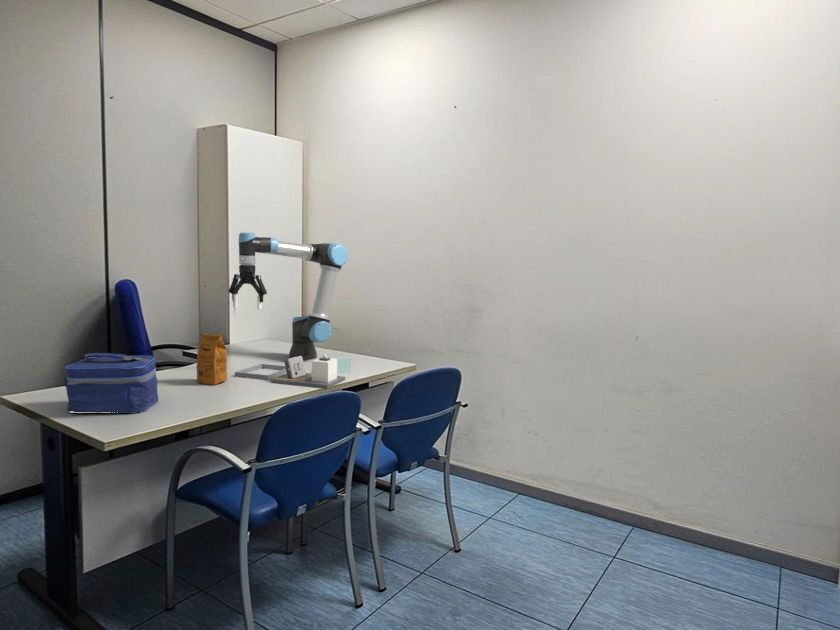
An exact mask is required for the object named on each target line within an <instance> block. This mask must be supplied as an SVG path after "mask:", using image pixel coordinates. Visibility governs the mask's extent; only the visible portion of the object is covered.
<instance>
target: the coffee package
mask: <svg viewBox="0 0 840 630" xmlns="http://www.w3.org/2000/svg"><path fill="white" fill-rule="evenodd" d="M223 337H224V336H223V334H209V333H205V332H203V333H202V335H201V338H200V342H199V345H198V349H197V357H196V383H197V382H199V383H198V384H204V385H206V384H209V385H208V386H216V385H218V384H219V383H224V382H227V381H228V377H227V376H228V372H227V370H228V368H227V367H228V357H227V355H228V349H227V348H226V345H225V342H224V341H223Z"/></svg>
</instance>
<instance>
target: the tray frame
mask: <svg viewBox="0 0 840 630" xmlns="http://www.w3.org/2000/svg"><path fill="white" fill-rule="evenodd" d="M266 368H267V369H269V370H276V369H277V371H275V372H272V373H269V374H261V373H252V372H255V371H258V370H260V369H266ZM257 369H258V370H257ZM267 369H266V370H267ZM254 370H255V371H254ZM288 370H289V368H288ZM251 371H252V372H251ZM248 372H249V373H248ZM285 373H287V372H286V367H285V365H279V364H268V363H260V364H257V365H252V366H250V367H247V368H244V369H243V368H242V369H241V370H237V371H235V372H234V376H235V377H236V376H240V377H239V378H246V377H249V378H248V379H255V378H256V379H258V380H266V381H269V380H271V379H273V378H275V377H278V376H280V375H283V374H285Z"/></svg>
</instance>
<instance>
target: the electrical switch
mask: <svg viewBox="0 0 840 630" xmlns="http://www.w3.org/2000/svg"><path fill="white" fill-rule="evenodd" d="M283 362H284V366H285V367H286V372H287V376H288V378H289V377H291V378H292V379H293V378H297V377H301V376H304V375H306V373H307V372H306V368H305V363H304V360H303V358H302V356H298V357H293V358H287V359H286V360H285V361H283ZM288 368H289V370H288Z"/></svg>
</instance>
